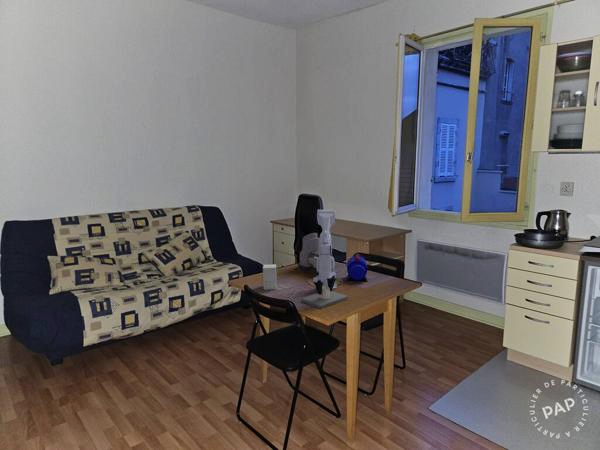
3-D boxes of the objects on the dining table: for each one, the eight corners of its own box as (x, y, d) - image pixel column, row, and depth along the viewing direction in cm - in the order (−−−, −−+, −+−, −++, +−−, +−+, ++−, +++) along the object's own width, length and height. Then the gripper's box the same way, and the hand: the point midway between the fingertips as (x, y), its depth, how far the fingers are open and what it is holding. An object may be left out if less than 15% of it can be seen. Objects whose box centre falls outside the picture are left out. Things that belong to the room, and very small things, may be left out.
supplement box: (276, 285, 238) (276, 264, 235) (276, 289, 230) (276, 267, 228) (263, 285, 237) (263, 264, 235) (263, 289, 230) (262, 267, 228)
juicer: (292, 267, 276) (291, 231, 272) (311, 263, 285) (311, 228, 281) (318, 278, 252) (318, 238, 248) (339, 274, 260) (339, 235, 256)
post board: (328, 292, 226) (328, 283, 225) (348, 298, 215) (348, 289, 215) (301, 301, 212) (301, 291, 211) (320, 308, 202) (320, 298, 201)
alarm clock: (366, 276, 255) (367, 252, 252) (367, 282, 243) (368, 257, 240) (346, 276, 256) (347, 252, 253) (346, 282, 244) (347, 257, 241)
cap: (324, 295, 217) (324, 285, 216) (331, 297, 213) (331, 288, 212) (318, 297, 214) (318, 287, 213) (325, 299, 210) (325, 290, 209)
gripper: (320, 271, 203) (320, 297, 205) (340, 266, 213) (340, 291, 215) (310, 268, 208) (310, 294, 211) (330, 263, 218) (330, 288, 220)
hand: (324, 292), depth 213 cm, fingers open, 7 cm apart
